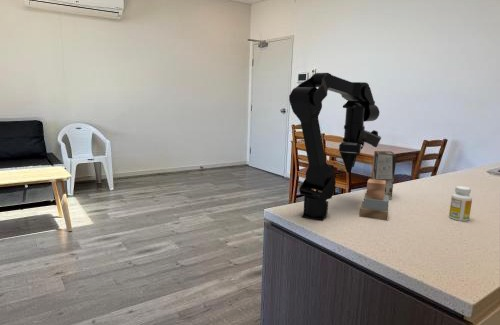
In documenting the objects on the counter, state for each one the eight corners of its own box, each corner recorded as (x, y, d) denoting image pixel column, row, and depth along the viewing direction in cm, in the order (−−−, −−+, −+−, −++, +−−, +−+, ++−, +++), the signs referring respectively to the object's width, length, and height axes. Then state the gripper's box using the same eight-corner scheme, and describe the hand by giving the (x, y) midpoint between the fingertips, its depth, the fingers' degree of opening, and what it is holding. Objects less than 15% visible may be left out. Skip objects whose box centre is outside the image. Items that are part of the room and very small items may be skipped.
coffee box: (392, 200, 125) (397, 155, 122) (373, 198, 127) (377, 154, 124) (387, 193, 134) (392, 151, 131) (370, 191, 135) (374, 150, 132)
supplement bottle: (466, 216, 110) (471, 186, 108) (471, 222, 105) (475, 190, 103) (447, 214, 112) (451, 184, 110) (450, 219, 107) (455, 188, 105)
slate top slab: (363, 208, 108) (363, 198, 107) (364, 201, 115) (365, 192, 114) (387, 211, 106) (388, 201, 105) (387, 204, 112) (388, 195, 112)
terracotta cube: (365, 198, 108) (367, 182, 107) (367, 193, 113) (368, 178, 112) (383, 200, 106) (384, 184, 105) (384, 196, 111) (385, 180, 110)
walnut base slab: (359, 217, 108) (360, 208, 108) (361, 209, 116) (362, 201, 115) (387, 221, 105) (388, 212, 105) (387, 213, 113) (388, 204, 112)
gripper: (379, 126, 103) (374, 178, 106) (381, 121, 120) (377, 166, 123) (340, 124, 107) (336, 174, 110) (347, 119, 124) (344, 163, 127)
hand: (350, 169), depth 117 cm, fingers open, 9 cm apart
